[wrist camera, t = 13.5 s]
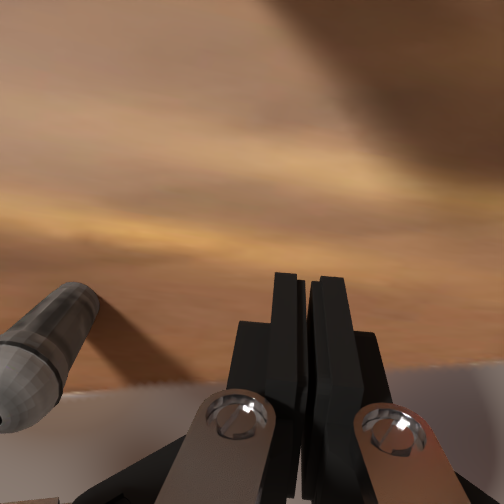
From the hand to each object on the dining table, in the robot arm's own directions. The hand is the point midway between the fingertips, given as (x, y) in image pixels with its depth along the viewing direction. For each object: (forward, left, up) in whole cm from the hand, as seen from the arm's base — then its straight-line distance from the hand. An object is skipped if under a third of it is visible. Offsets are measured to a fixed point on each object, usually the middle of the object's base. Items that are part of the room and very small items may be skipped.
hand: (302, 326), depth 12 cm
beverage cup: (+19, -20, -29) cm, 40 cm away
